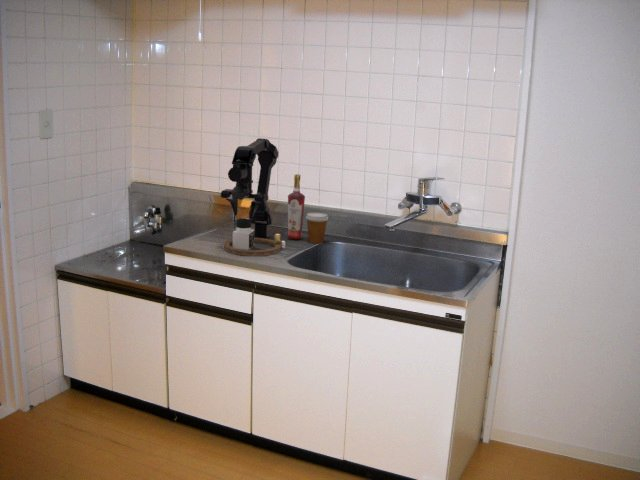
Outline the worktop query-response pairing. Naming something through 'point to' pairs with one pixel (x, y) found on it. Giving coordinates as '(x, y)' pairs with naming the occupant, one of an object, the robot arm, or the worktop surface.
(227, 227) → the worktop surface
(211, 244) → the worktop surface
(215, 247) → the worktop surface
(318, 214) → the disposable coffee cup
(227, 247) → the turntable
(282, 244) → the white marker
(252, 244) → the medicine bottle
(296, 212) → the liquor
